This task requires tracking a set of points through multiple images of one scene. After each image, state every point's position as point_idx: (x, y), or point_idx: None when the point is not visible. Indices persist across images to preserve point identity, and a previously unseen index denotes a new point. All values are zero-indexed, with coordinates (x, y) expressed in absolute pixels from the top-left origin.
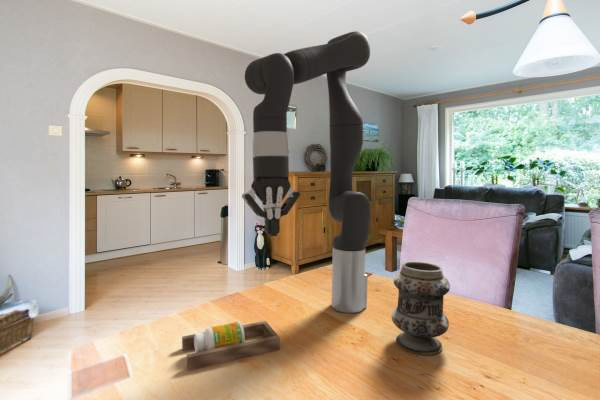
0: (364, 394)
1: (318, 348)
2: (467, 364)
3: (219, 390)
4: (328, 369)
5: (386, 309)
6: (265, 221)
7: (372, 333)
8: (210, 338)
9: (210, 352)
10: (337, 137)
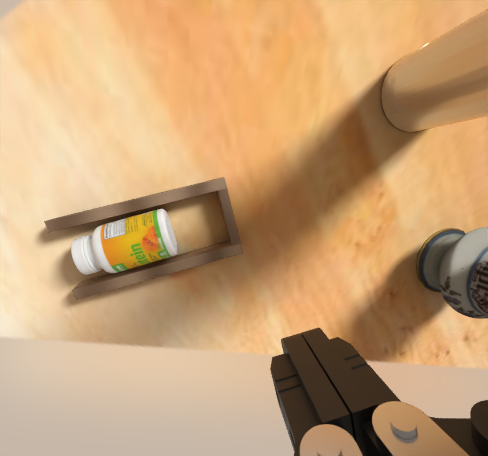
0: None
1: (301, 252)
2: None
3: (143, 338)
4: (297, 308)
5: (475, 126)
6: (293, 439)
7: (401, 218)
8: (108, 271)
9: (116, 287)
10: None
